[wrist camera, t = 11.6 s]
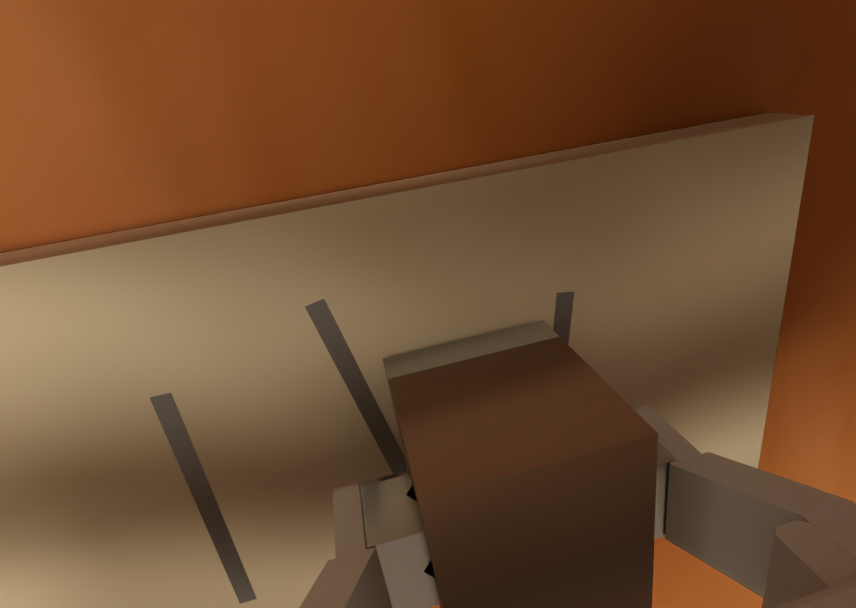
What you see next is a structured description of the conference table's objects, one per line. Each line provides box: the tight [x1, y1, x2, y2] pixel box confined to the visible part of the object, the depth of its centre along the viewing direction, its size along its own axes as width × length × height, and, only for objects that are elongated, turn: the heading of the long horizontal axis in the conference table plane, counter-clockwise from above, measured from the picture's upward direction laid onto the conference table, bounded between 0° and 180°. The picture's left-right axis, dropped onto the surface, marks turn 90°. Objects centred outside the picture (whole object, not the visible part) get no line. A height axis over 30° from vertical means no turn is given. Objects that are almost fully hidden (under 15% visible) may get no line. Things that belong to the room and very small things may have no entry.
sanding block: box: [383, 321, 658, 608], centre depth 10 cm, size 5×4×4 cm
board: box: [0, 113, 814, 608], centre depth 12 cm, size 11×20×1 cm, turn 98°
